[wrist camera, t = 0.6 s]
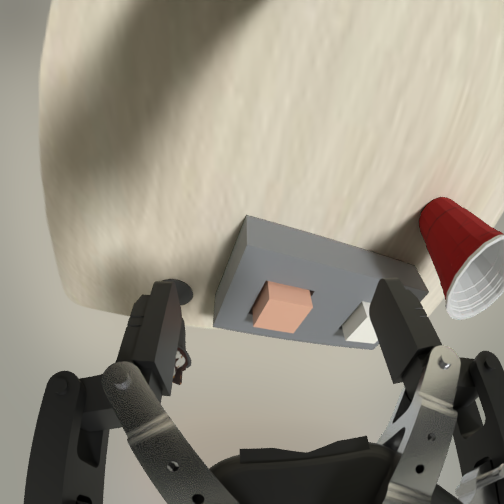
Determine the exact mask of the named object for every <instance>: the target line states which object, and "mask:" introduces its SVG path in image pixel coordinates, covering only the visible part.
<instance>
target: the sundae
mask: <svg viewBox="0 0 504 504" xmlns="http://www.w3.org/2000/svg"><path fill="white" fill-rule="evenodd" d="M162 282H175V284H176V288H177V293H178V298H179V303H180V305H184V304H186V303H188V302H190V300H191V299H192V297H193V292H192V290H191V288H190V287H189V286H188V285H187V284H185V283H184V282H182V281H179V280H174V279H168V280H164V281H162ZM189 366H191V359H190V357H189V355H188V353H187V351H186V348H185V325H184V320H183V318H182V321H181V329H180V335H179V341H178V347H177V354H176V360H175V367H174V374H173V381H172V382H173V383H176V384H179V385H180V384H181V383H182V371H184V370H186V368H188V367H189Z"/></svg>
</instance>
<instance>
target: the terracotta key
mask: <svg viewBox="0 0 504 504" xmlns="http://www.w3.org/2000/svg"><path fill="white" fill-rule="evenodd" d="M312 308H313V305H312V300H311V295H310V291H309V290H307V289H302V288H298V287H293V286H289V285H284V284H280V283H275V282H271V281H265V283H264V285H263V287H262V289H261V291H260V292H259V294H258V296H257V298H256V300H255V302H254V304H253V306H252V309H253V327H258V328H263V329H269V330H275V331H281V332H288V333H294V332H295V331H296V329H297V328H298V327H299V325H300V324H301V323H302V321H303V320H304V319H305V317H306V316H307V315H308V313H309V312H310V311H311V309H312Z"/></svg>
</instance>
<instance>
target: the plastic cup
mask: <svg viewBox="0 0 504 504" xmlns="http://www.w3.org/2000/svg"><path fill="white" fill-rule="evenodd" d="M419 227H420V232H421V234H422V236H423V238H424V240H425V243H426V247H427V249H428V252H429V254H430V256H431V259H432V261H433V264H434V266H435V269H436V271H437V274H438V276H439V279H440V282H441V283H440V284H441V286H442V289H443V293H444V295H445V300H446V305H445V307H446V310H447V312H448V313H449V315H450V317H451V318H453V319H458V320H462V319H466V318H470V317H473V316H475V315H477V314H478V313H480V312H482V311H483V310H485V309H486V308H488V307H489V306H490V305H491V304H492V303H493V302H494V301H495V300H497V299H498V298H499V297H500V295H501V294H502V293H503V291H504V234H503V233H501V232H500V231H497V230H496V229H494V228H491V227H490V226H489V225H487V224H486V223H485V222H483V221H482V220H481V219H479V218H478V217H477V216H475V215H474V214H472V213H471V212H469V211H468V210H467V209H465V208H462V207H461V206H460V205H458V204H457V203H455V202H454V201H453V200H451V199H448V198H445V197H439V198H437V199H434V200H432V201H431V202H430V203H429V204H427V205H426V207H425V208H424V209H423V211H422V212H421V215H420V218H419Z"/></svg>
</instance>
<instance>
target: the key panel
mask: <svg viewBox="0 0 504 504" xmlns="http://www.w3.org/2000/svg"><path fill="white" fill-rule="evenodd" d="M382 278H399V279H400V280H401V282H402V284H403V286H404V287H405V289H406V290H407V289H409V290H410V291H411V292H412V293H413V294H414V295H415V296H416V297H417V298H418V299H419V301H420V302H421V300H422V299H423V298H424V297H425V296H426V295H427V294H428V293H429V291H428V289H427V287H426V286H425V284H424V282H423V280H422V278H421V276H420V275H419V273H418V271H417V269H416V267H415V266H414V265H411V264H408V263H405V262H402V261H399V260H396V259H393V258H390V257H386V256H383V255H380V254H377V253H374V252H371V251H368V250H364V249H361V248H358V247H355V246H352V245H348V244H345V243H342V242H338V241H335V240H332V239H329V238H325V237H322V236H318V235H315V234H312V233H308V232H305V231H301V230H298V229H295V228H291V227H288V226H284V225H281V224H277V223H274V222H270V221H266V220H263V219H259V218H256V217H252V216H248V215H246V218H245V220H244V223H243V225H242V228H241V230H240V233H239V236H238V238H237V241H236V243H235V246H234V248H233V251H232V254H231V256H230V259H229V261H228V264H227V266H226V269H225V272H224V274H223V277H222V280H221V282H220V285H219V287H218V290H217V293H216V295H215V305H214V318H213V327H216V328H222V329H227V330H232V331H237V332H243V333H249V334H254V335H261V336H266V337H273V338H279V339H286V340H293V341H300V342H307V343H314V344H322V345H331V346H339V347H340V346H341V347H349V348H360V349H369V350H372V349H374V348H375V347H376V346H377V345H378V344H379V341H377V342H376V343H375V344H372V343H362V342H353V341H345V337H344V333H343V329H342V324H343V323H344V322H345V321H346V320H347V318H348V317H349V316H350V315H351V314H352V313H353V311H354V310H355V309H356V308H357V307H358V305H359V304H360V303H361V302H362V301H364V302H369V303H371V301H372V298H373V296H374V293H375V290H376V287H377V285H378V282H379V280H380V279H382ZM265 281H271V282H275V283H280V284H284V285H289V286H293V287H298V288H302V289H307V290H309V291H310V295H311V300H312V305H313V308H312V309H311V311H310V312H309V313H308V315H307V316H306V317H305V319H304V320H303V321H302V323H301V324H300V325H299V327H298V328H297V329H296V331H295V332H294V333H288V332H281V331H275V330H269V329H263V328H258V327H253V309H252V306H253V304H254V302H255V300H256V298H257V296H258V294H259V292H260V291H261V289H262V287H263V285H264V283H265Z"/></svg>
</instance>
